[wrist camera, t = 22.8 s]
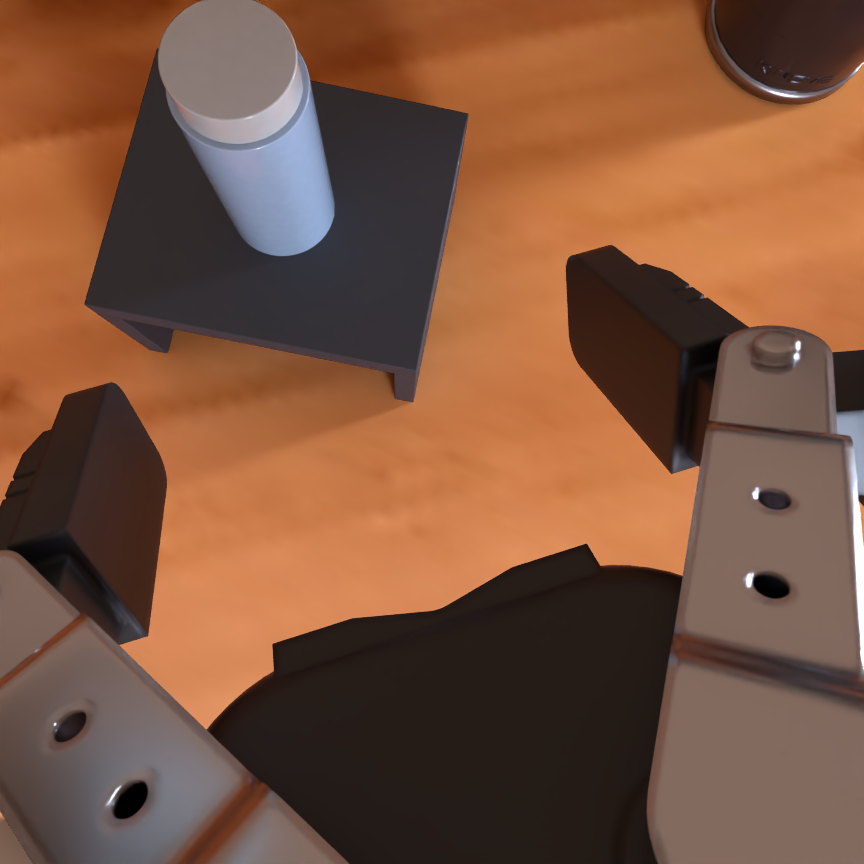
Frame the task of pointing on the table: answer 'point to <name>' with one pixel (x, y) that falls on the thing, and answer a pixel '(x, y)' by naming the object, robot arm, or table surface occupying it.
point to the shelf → (297, 274)
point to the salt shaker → (250, 121)
